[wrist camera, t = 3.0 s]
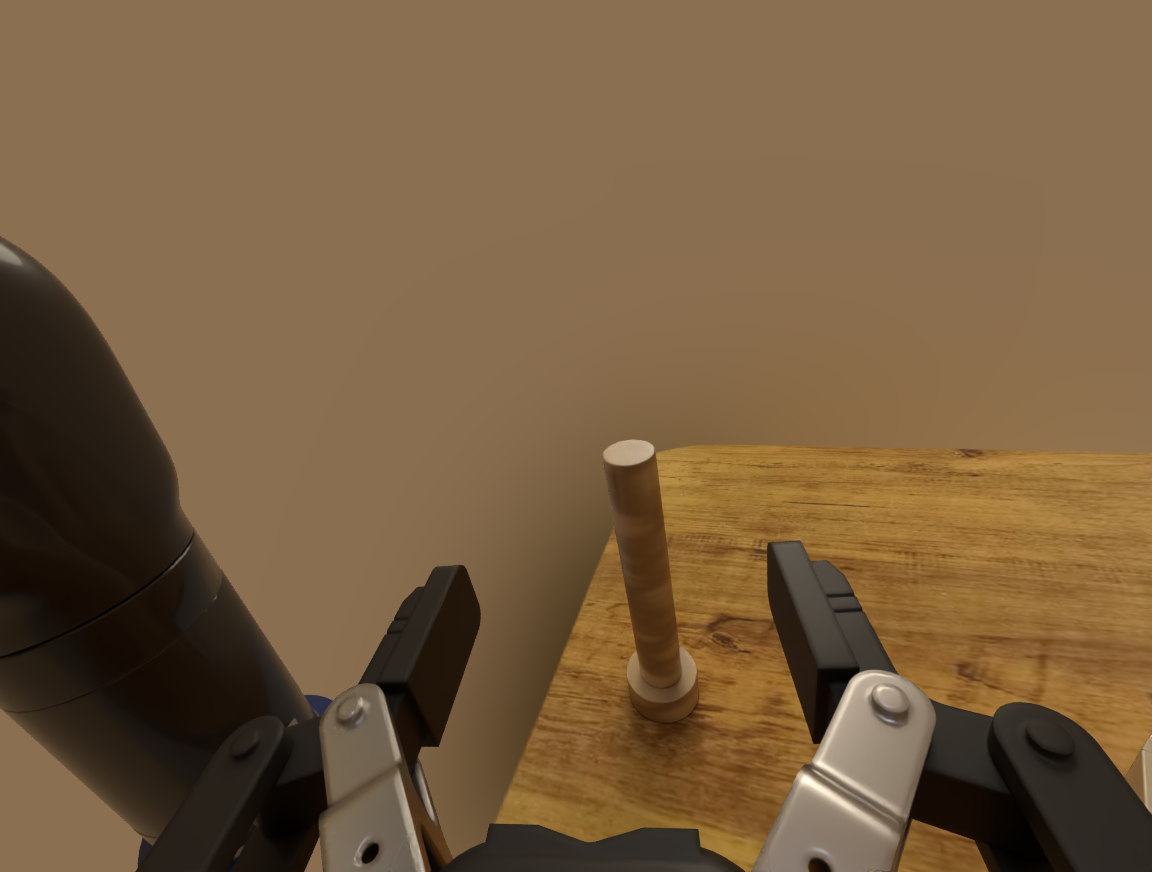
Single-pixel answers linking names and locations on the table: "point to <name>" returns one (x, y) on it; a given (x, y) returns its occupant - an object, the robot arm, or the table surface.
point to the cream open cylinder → (1142, 774)
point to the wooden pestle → (648, 585)
